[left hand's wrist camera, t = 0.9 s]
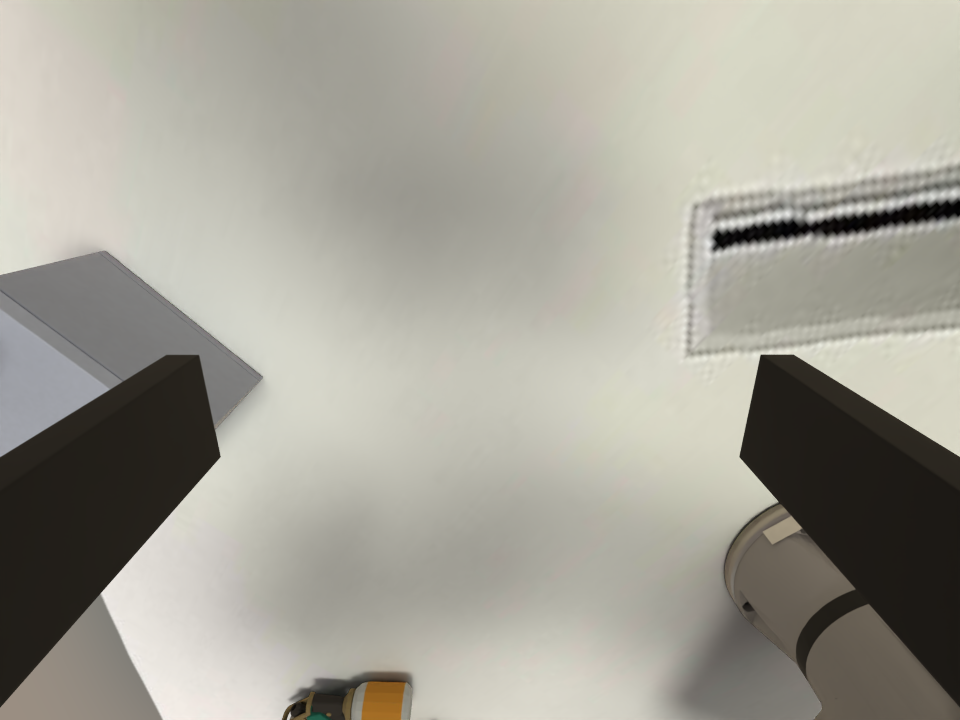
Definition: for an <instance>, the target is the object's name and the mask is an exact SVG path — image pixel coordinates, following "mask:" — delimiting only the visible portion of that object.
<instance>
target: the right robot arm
mask: <svg viewBox="0 0 960 720" xmlns="http://www.w3.org/2000/svg"><path fill="white" fill-rule="evenodd" d="M725 581H726V585H727V589H728V591H729V593H730V595H731V597H732V598H733V600H734V602H735V604H736V605H737V607H738V609H739V610H740V612H741V613H742V615H743V616H744V617H745V618H746V619H747V620H748V621H749V622H750V623H751V624H752V625H753V626H754V627H756V628H757V629H758V630H759V631H760V632H761V633H762V634H764V635H765V636H766V637H767V638H768V639H769V640H770V641H771V642H773V643H774V644H775V645H776V646H777V647H778V648H779V649H781V650H782V651H783V652H784V653H785V654H786V655H787V656H788V657H790V658H791V659H792V660H793V661H794V662H795V663H796V664H797V665H798V667H799V668H800V670H801V671H802V673H803V674H804V676H805V677H806V679H807V681H808V682H809V684H810V685H811V687H812V689H813V690H814V692H815V694H816V695H817V697H818V699H819V700H820V702H821V704H822V710H821V711H820V713H819V714H818V715H817V716H816V718H815V719H814V720H960V707H959V706H958V705H957V704H956V703H955V701H954V700H953V699H952V698H951V697H950V696H949V695H948V693H947V692H946V691H945V690H944V689H943V688H942V687H941V686H940V684H939V683H938V682H937V681H936V680H935V679H934V678H933V676H932V675H931V674H930V673H929V672H928V671H927V670H926V668H925V667H924V666H923V665H922V664H921V663H920V662H919V661H918V659H917V658H916V657H915V656H914V655H913V654H912V653H911V651H910V650H909V649H908V648H907V647H906V646H905V645H904V643H903V642H902V641H901V640H900V639H899V638H898V637H897V635H896V634H895V633H894V632H893V631H892V630H891V629H890V628H889V626H888V625H887V624H886V623H885V622H884V621H883V620H882V618H881V617H880V616H879V615H878V614H877V613H876V612H875V610H874V609H873V608H872V607H871V606H870V605H869V604H868V603H867V601H866V600H865V599H864V598H863V597H862V596H861V595H860V593H859V592H858V591H857V590H856V589H855V588H854V587H853V585H852V584H851V583H850V582H849V581H848V580H847V579H846V578H845V576H844V575H843V574H842V573H841V572H840V571H839V570H838V568H837V567H836V566H835V565H834V564H833V563H832V562H831V560H830V559H829V558H828V557H827V556H826V555H825V554H824V552H823V551H822V550H821V549H820V548H819V547H818V546H817V545H816V543H815V542H814V541H813V540H812V539H811V538H810V537H809V535H808V534H807V533H806V532H805V531H804V530H803V529H802V527H801V526H800V525H799V524H798V523H797V522H796V521H795V520H794V518H793V517H792V516H791V515H790V514H789V513H788V512H787V510H786V509H785V508H784V507H783V506H782V505H781V504H779V505H777V506H775V507H773V508H771V509H769V510H767V511H766V512H764V513H763V514H761V515H760V516H758V517H757V518H756V519H754V520H753V521H752V522H751V523H750V524H749V525H748V526H747V527H746V528H745V529H744V530H743V531H742V532H741V533H740V534H739V536H738V537H737V539H736V540H735V542H734V543H733V545H732V547H731V549H730V551H729V553H728V556H727V560H726V564H725Z"/></svg>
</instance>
